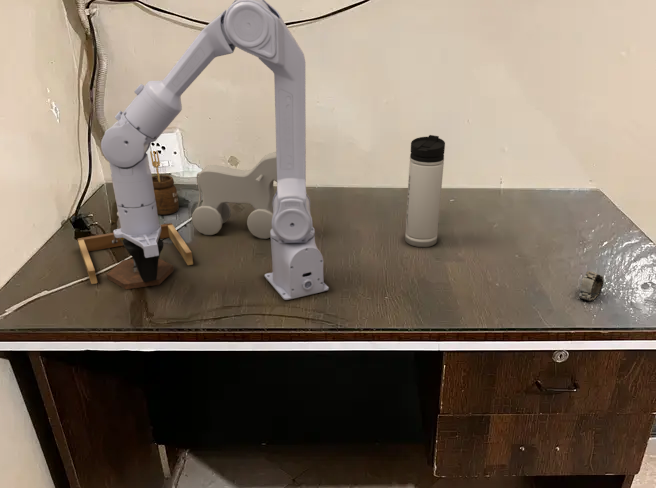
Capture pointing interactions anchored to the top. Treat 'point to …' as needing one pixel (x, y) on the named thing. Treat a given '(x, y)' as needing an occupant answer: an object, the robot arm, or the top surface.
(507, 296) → the top surface
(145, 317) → the top surface
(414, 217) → the travel mug
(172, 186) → the utensil holder
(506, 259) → the top surface
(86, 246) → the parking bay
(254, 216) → the pony
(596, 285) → the wristwatch
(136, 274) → the robot figurine
